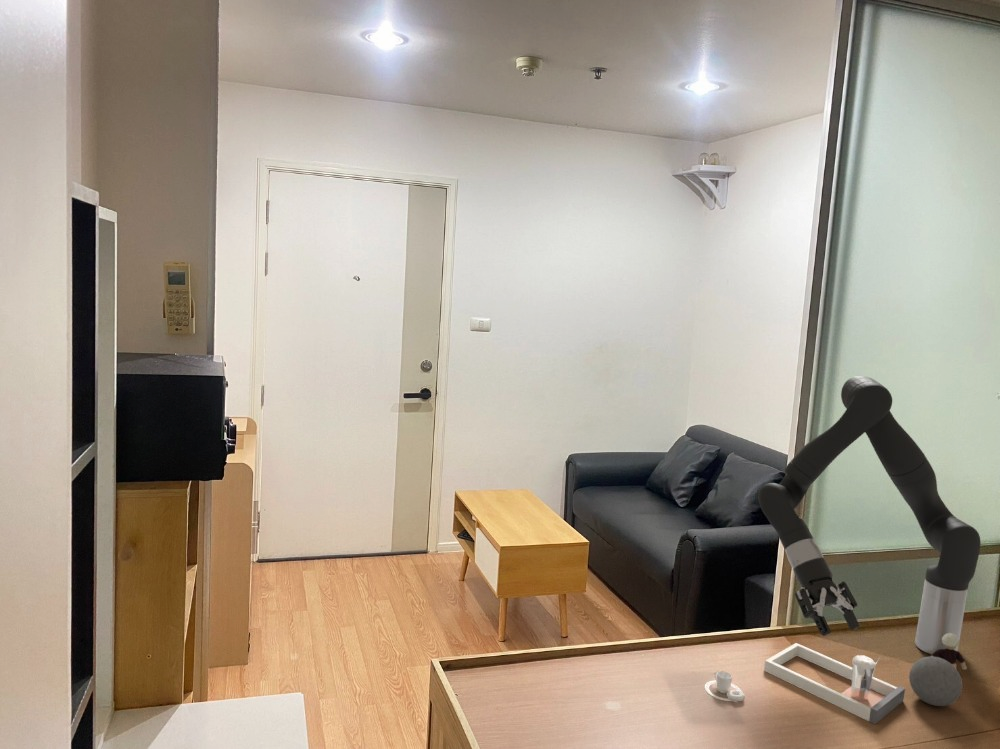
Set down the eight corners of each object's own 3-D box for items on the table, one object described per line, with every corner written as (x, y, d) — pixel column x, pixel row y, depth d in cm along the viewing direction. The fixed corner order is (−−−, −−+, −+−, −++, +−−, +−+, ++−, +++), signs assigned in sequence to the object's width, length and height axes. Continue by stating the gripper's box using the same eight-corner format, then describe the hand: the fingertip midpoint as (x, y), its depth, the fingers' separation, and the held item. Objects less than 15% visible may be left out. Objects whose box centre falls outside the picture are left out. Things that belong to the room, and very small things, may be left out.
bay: (794, 652, 188) (796, 640, 188) (903, 701, 170) (905, 688, 169) (763, 670, 179) (765, 658, 178) (874, 724, 160) (876, 710, 160)
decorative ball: (896, 689, 174) (903, 647, 173) (938, 689, 175) (945, 647, 174) (924, 715, 165) (931, 671, 163) (969, 716, 166) (976, 672, 164)
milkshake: (877, 705, 167) (883, 661, 165) (850, 700, 168) (856, 657, 166) (871, 693, 171) (878, 651, 170) (845, 689, 172) (851, 647, 171)
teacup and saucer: (749, 705, 165) (751, 687, 165) (712, 705, 165) (714, 687, 164) (734, 682, 174) (736, 665, 173) (699, 681, 173) (701, 664, 173)
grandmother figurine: (955, 683, 179) (964, 631, 176) (964, 692, 175) (973, 639, 173) (921, 680, 179) (929, 628, 177) (929, 690, 175) (938, 637, 173)
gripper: (795, 559, 177) (828, 631, 168) (841, 552, 183) (875, 621, 174) (775, 572, 182) (806, 642, 174) (820, 565, 188) (853, 632, 180)
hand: (841, 631), depth 174 cm, fingers open, 8 cm apart
